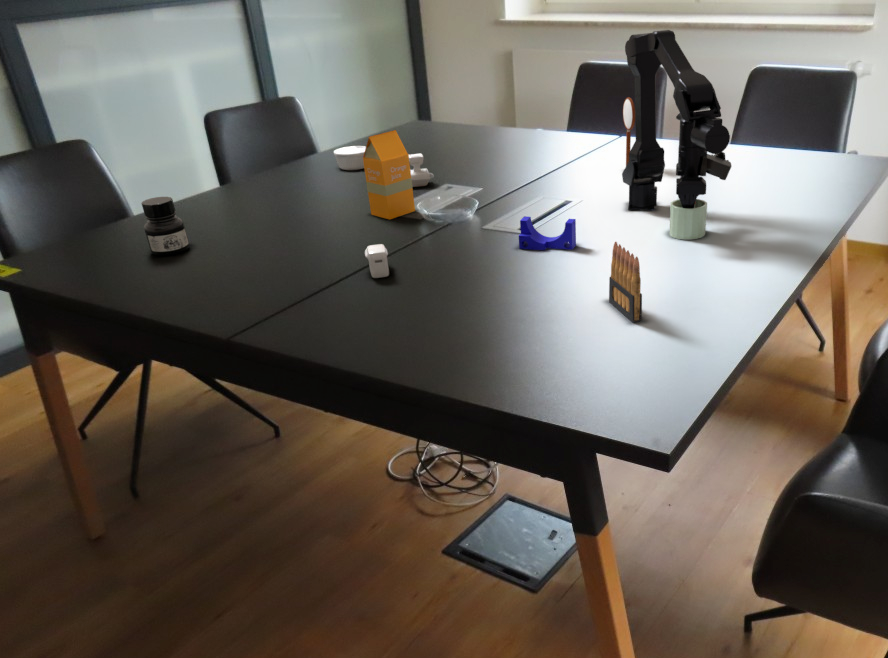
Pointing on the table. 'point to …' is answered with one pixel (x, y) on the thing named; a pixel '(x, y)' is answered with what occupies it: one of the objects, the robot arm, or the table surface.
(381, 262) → the power adapter
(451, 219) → the table surface
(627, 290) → the ammunition clip
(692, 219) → the pen holder
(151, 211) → the ink bottle
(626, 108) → the magnifying glass
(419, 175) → the stamp
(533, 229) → the blue mounting bracket
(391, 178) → the orange juice
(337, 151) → the ramekin
